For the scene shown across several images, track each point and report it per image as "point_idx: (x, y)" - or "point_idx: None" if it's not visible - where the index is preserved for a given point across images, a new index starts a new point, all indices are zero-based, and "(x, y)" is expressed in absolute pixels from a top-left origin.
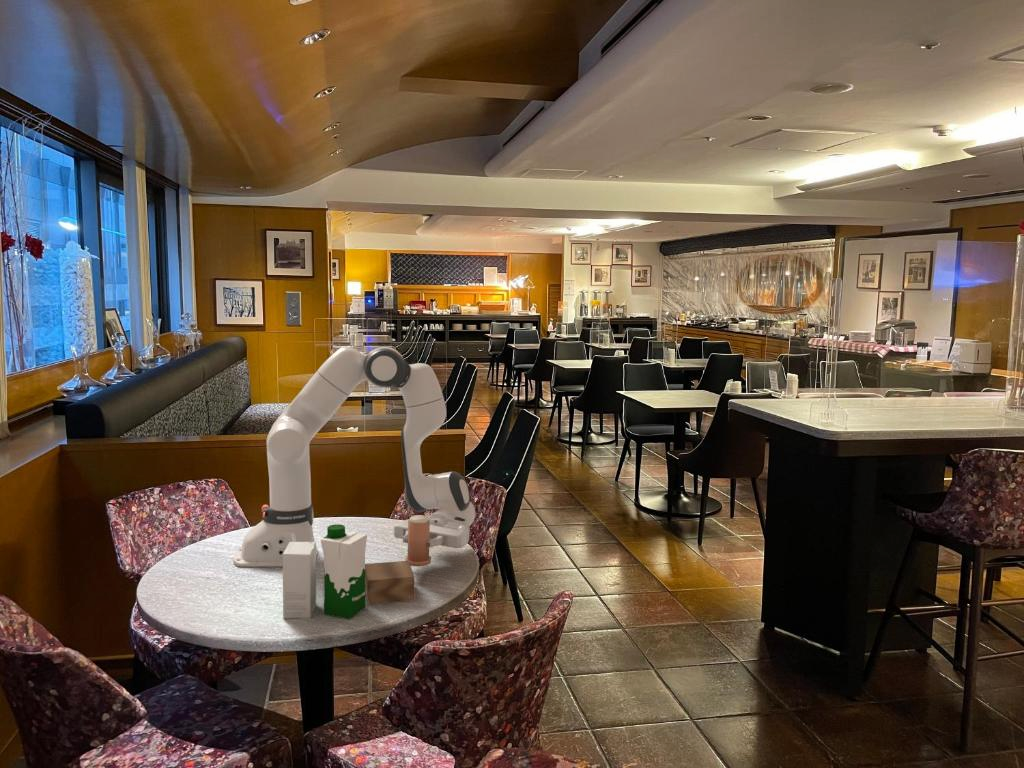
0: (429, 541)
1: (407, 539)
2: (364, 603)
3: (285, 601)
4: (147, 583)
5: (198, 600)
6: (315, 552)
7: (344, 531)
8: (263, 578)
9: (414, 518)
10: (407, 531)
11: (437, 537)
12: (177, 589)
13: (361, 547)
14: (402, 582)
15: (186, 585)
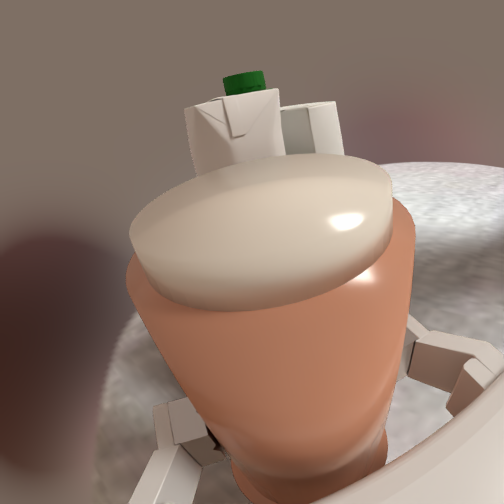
0: (174, 400)
1: None
2: None
3: None
4: (484, 165)
5: (422, 176)
6: (300, 126)
7: (226, 86)
8: (481, 212)
9: (278, 167)
10: (483, 352)
11: (158, 489)
12: (462, 171)
13: (191, 129)
14: None
15: (472, 175)
